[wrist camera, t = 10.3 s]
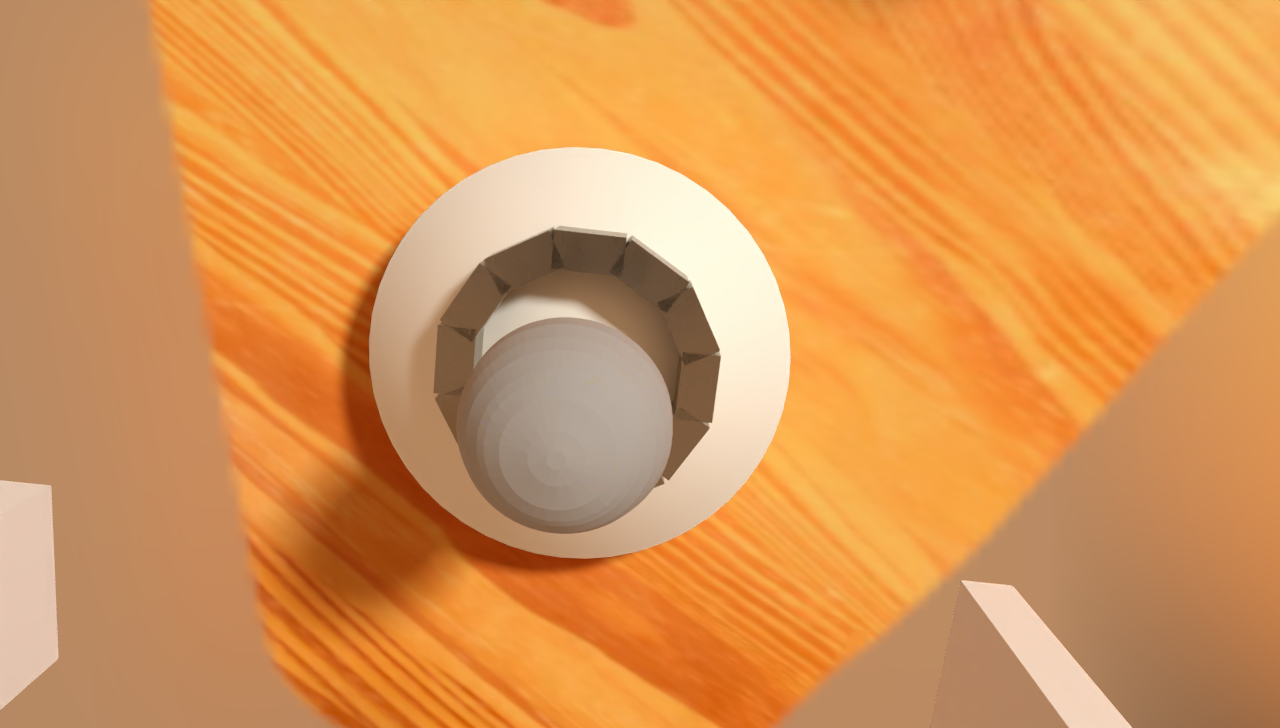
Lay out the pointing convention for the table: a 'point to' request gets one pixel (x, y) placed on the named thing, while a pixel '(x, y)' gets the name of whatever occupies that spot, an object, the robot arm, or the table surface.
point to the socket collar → (597, 256)
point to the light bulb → (565, 425)
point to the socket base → (601, 200)
